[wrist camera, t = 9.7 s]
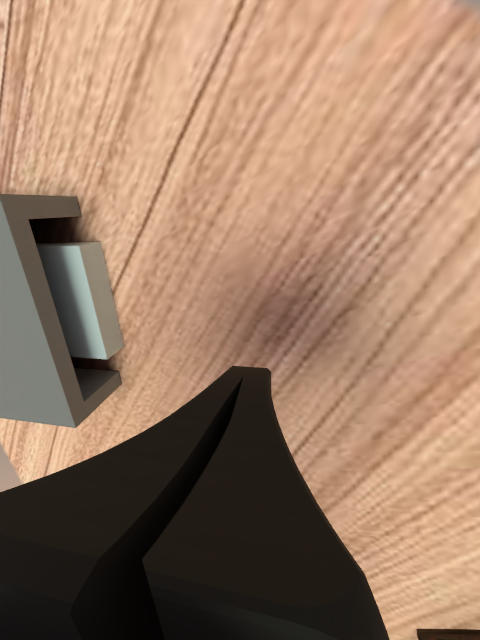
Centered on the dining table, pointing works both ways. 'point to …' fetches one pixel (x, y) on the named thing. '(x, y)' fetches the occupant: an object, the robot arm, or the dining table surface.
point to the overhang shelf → (38, 327)
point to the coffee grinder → (449, 634)
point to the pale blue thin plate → (82, 298)
